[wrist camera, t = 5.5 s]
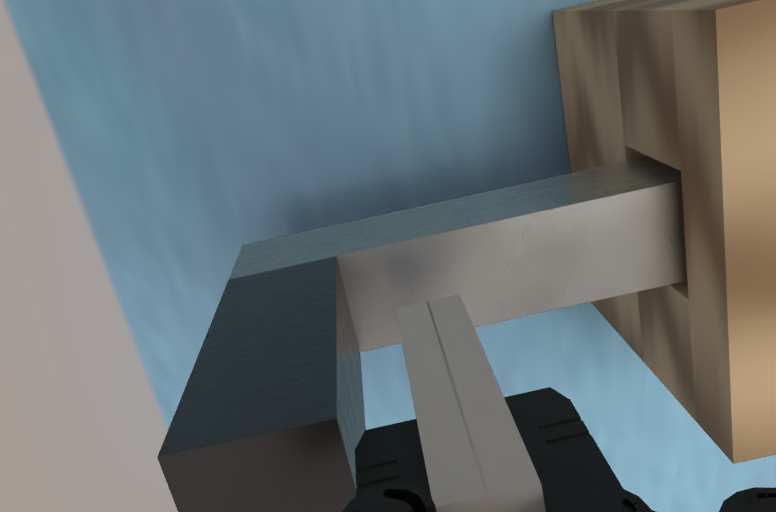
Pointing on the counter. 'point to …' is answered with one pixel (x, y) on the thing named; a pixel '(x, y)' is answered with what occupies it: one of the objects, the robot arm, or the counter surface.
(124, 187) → the counter surface
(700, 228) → the block
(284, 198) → the counter surface
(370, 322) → the shaft
